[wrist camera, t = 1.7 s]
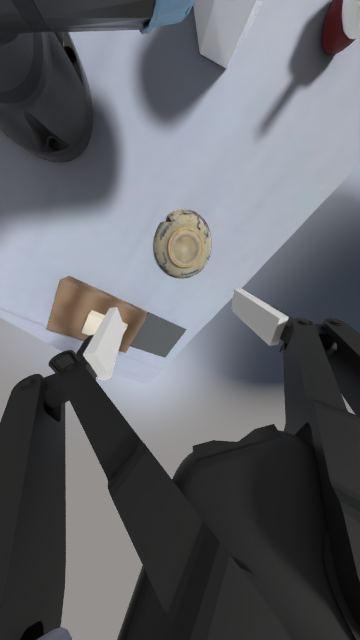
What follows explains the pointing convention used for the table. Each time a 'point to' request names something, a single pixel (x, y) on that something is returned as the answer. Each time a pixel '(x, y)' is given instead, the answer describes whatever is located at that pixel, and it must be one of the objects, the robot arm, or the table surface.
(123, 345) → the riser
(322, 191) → the table surface
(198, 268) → the decorative bowl
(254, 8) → the jar
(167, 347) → the mat
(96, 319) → the tile
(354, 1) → the toy boat
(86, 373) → the robot arm
